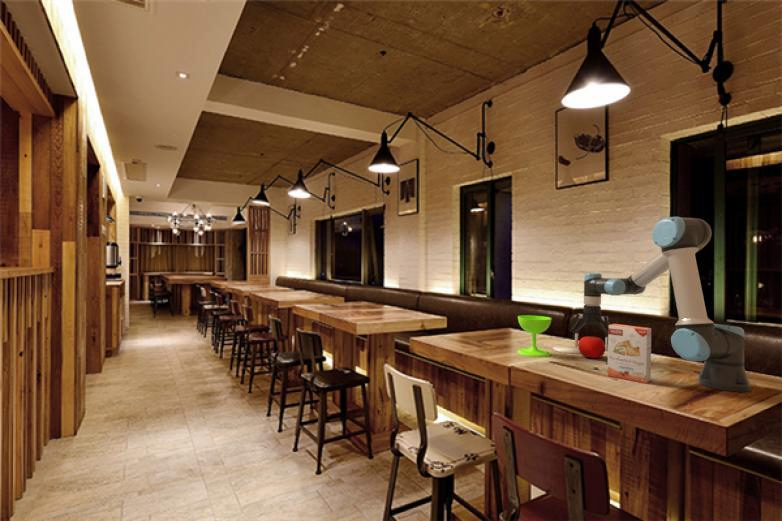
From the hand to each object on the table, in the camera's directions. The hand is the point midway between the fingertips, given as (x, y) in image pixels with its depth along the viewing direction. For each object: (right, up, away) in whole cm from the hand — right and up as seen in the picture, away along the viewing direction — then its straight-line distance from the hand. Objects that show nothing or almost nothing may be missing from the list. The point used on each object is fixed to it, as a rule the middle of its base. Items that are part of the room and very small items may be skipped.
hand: (591, 348), depth 199 cm
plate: (-4, -4, +15) cm, 16 cm away
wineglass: (-25, -4, +7) cm, 27 cm away
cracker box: (-3, -4, -36) cm, 36 cm away
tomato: (0, -4, 0) cm, 4 cm away
